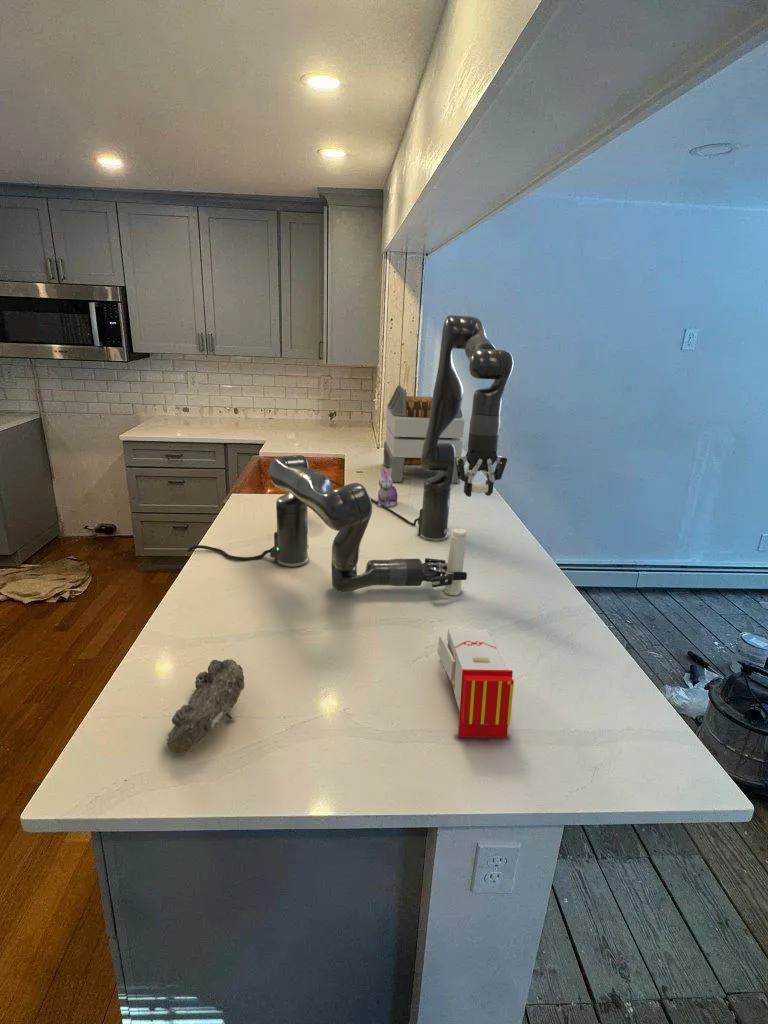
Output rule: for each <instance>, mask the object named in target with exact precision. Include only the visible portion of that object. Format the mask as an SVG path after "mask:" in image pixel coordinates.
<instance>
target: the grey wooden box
mask: <svg viewBox="0 0 768 1024" xmlns="http://www.w3.org/2000/svg"><path fill="white" fill-rule="evenodd" d="M407 394H408V393H407V390H406V389H404V388H403V387H402V385H399V384H398V385H397V386H396V388H395V390H394V392H393V394H392V395H391V398H390V400H389V402H388V404H387V405H386V413H385V414H386V415H385V423H386V428H385V438H384V442H383V466H384V467H388V468H390V467H391V468H392V471H391V475H390V476H391V479H392V481H393V483H402V482H403V475H404V469H405V466H406V467H407V466H411V467H412V466H413V467H415V466H416V467H417V466H418V467H422V465H421V453H422V448H423V444H424V440H425V436H426V433H427V429H428V424H429V418H430V412H431V404H432V398H433V396H415V395H414V396H413V395H412V396H411V395H407ZM464 429H465V419H464V418H463V411H462V407H461V408H460V411H459V413H458V415H457V416H456V418H455V419H454V420H453V421H452V422H451V423H450V425H449V426H448V427H447V428H446V429H445V430H444V431H443V433H442V434H441V436H440V438H439V440H438V443H450V444H452V445H453V446H454V448H455V458H456V457H459V458H461V457H462V453H463V442H464V441H463V440H462V439H463V438H464V431H465V430H464ZM455 483H456V484H459V483H461V480H460V479H459V478H458V475H457V468H456V462H455V465H454V472H453V480H452V484H455Z"/></svg>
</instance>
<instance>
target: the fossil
mask: <svg viewBox="0 0 768 1024" xmlns="http://www.w3.org/2000/svg"><path fill="white" fill-rule="evenodd" d="M243 670H244V669H243V667H242V665H240V664H237V662H236V661H235V660H234V659H232V658H231V659H227V658H226V659H224V660H223V661H222V660H217V659H212V660H211V661H210V663H209V665H208V666H207V671H201V672H199V673H198V674H197V675H196V676H195V680H194V684H195V685H194V687H195V689H194V690H193V693H192V694H191V697H190V698H189V700H188V704H184V705H182V706H181V707H180V709H177V710H176V711H175V713H174V715H173V716H172V718H171V723H172V724H173V727H172V730H171V731H170V732H168V734H167V738H166V741H167V742H166V745H167V749H168V750H169V751H173V752H174V753H176V754H178V753H182V752H188V751H189V752H192V751H193V750H195V748H196V747H197V746H199V744H200V743H201V742H203V741H204V740H205V739H206V738H207V737H208V736H209V735H210V734H211V733H212V732H214V730H215V729H217V727H218V726H219V724H220V722H221V721H222V720H223V719H224V718H225V716H226V717H227V719H229V720H233V717H232V715H230V714H229V710H230V709H231V708H234V706H235V704H236V703H237V702H238V699H239V697H240V695H241V693H242V691H243V690H245V689H244V688H245V675H244V671H243Z"/></svg>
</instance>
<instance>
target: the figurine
mask: <svg viewBox="0 0 768 1024" xmlns="http://www.w3.org/2000/svg"><path fill="white" fill-rule="evenodd" d="M391 471H392V468H391V467H388V469H387V470H386V471H385V469H384V468H383V467H381V468H380V478H379V480H378V485H379V489H378V492H377V502H378V503H379V504H377V505H378V507H381V505H384V506H386V507H387V508H389V507H394V506H396V505H397V503H398V496H399V495H398V490H397V489H396V487H395V486H394V485H393V484H394V482H393V481H392V479H391V476H390V475H391Z"/></svg>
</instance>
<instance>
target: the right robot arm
mask: <svg viewBox="0 0 768 1024" xmlns="http://www.w3.org/2000/svg"><path fill="white" fill-rule="evenodd" d="M440 340H441V341H440V350H439V359H438V367H437V372H436V378H435V383H434V388H433V394H432V397H433V398H432V404H431V412H430V418H429V424H428V429H427V433H426V436H425V440H424V444H423V448H422V453H421V465H422V466H421V467H422V469H423V470H424V471H427V472H438V473H436V474H435V475H433V476H431V477H428V478H427V479H425V480H424V482H423V493H422V496H423V497H422V506H421V508H420V509H419V516H418V517H417V518H415V519H414V520H413V522H411V521H409V520H408V519H406V518H405V517H403V516H402V515H400V514H399V513H397V512H396V511H394V510H392V509H391V508H389V507H386V506H384V505H381V506H380V508H381V507H382V508H383V509H385V510H387V511H388V512H390V513H391V514H393V515H394V516H395V517H398V518H399V519H401V520H403V521H404V522H405V523H407V524H408V525H411V526H416V525H418V530H417V535H418V536H420V538H421V539H424V540H426V541H432V542H440V541H444V540H446V539H447V538H448V532H450V531H449V529H450V528H449V527H448V525H449V517H450V516H449V514H450V504H451V494H452V493H451V491H452V485H453V483H452V480H453V472H454V465H455V462H456V468H457V475H458V478H459V479H460V481H461V482H464V484H463V493H464V494H465V496H466V497H469V498H471V497H472V493H473V492H472V483H471V482H473V480H474V478H475V477H476V475H477V473H478V472H481V471H482V472H484V473H485V477H486V480H485V483H486V484H488V487H489V488H488V492H486V493H484V495H485V496H487V497H490V496H492V494H493V492H494V484H495V482H496V481H497V480H498V481H500V480H501V479H502V477H503V475H504V471H505V468H506V466H507V463H508V457H505V456H503V455H498V452H497V451H498V447H499V438H500V431H501V410H502V400H503V396H504V392H505V390H506V387H507V384H508V382H509V379H510V377H511V375H512V372H513V368H514V358H513V354H512V353H511V352H510V351H508V350H505V349H496V347H495V345H494V344H493V343H492V342H491V341H490V340H489V339H488V337H487V334H486V331H485V328H484V325H483V322H482V321H481V320H480V319H479V318H477V317H476V316H471V315H469V316H468V315H458V314H457V315H456V314H449V315H447V316H446V317H445V319H444V322H443V326H442V331H441V339H440ZM454 349H455V350H464V353H465V356H466V358H467V360H468V361H469V365H468V371H469V374H470V375H471V376H472V377H473V378H474V379H478V380H493V382H492V384H491V385H490V386H488V387H483V388H478V389H476V390H475V391H474V392H473V395H472V397H473V398H472V406H471V416H470V420H469V430H468V440H467V452H466V454H465V456H461V458H459V457H456V458H455V448H454V446H453V445H452V444H450V443H438V440H439V438H440V436H441V434H442V433H443V431H444V430H445V429H446V428H447V427H448V426H449V425H450V423H451V422H452V421H453V420H454V419H455V418H456V416H457V415H458V413H459V411H460V408H461V409H462V403H463V398H464V387H463V383H462V382H461V379H460V377H459V375H458V373H457V370H456V368H455V364H454V362H453V361H454V360H453V350H454ZM467 463H468V465H467V468H466V471H465V466H466V464H467ZM495 463H496V465H495V468H494V467H493V465H494V464H495ZM330 481H331V483H332V484H335V485H337V486H339V487H343V486H345V485H343V484H341V483H339V482H338V481H337V482H336V481H334V480H333V479H330ZM377 501H378V500H377ZM377 501H376V500H375V499H373V498H371V502H372V503H374V504H376V505H378V504H379V503H378V502H377Z"/></svg>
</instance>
